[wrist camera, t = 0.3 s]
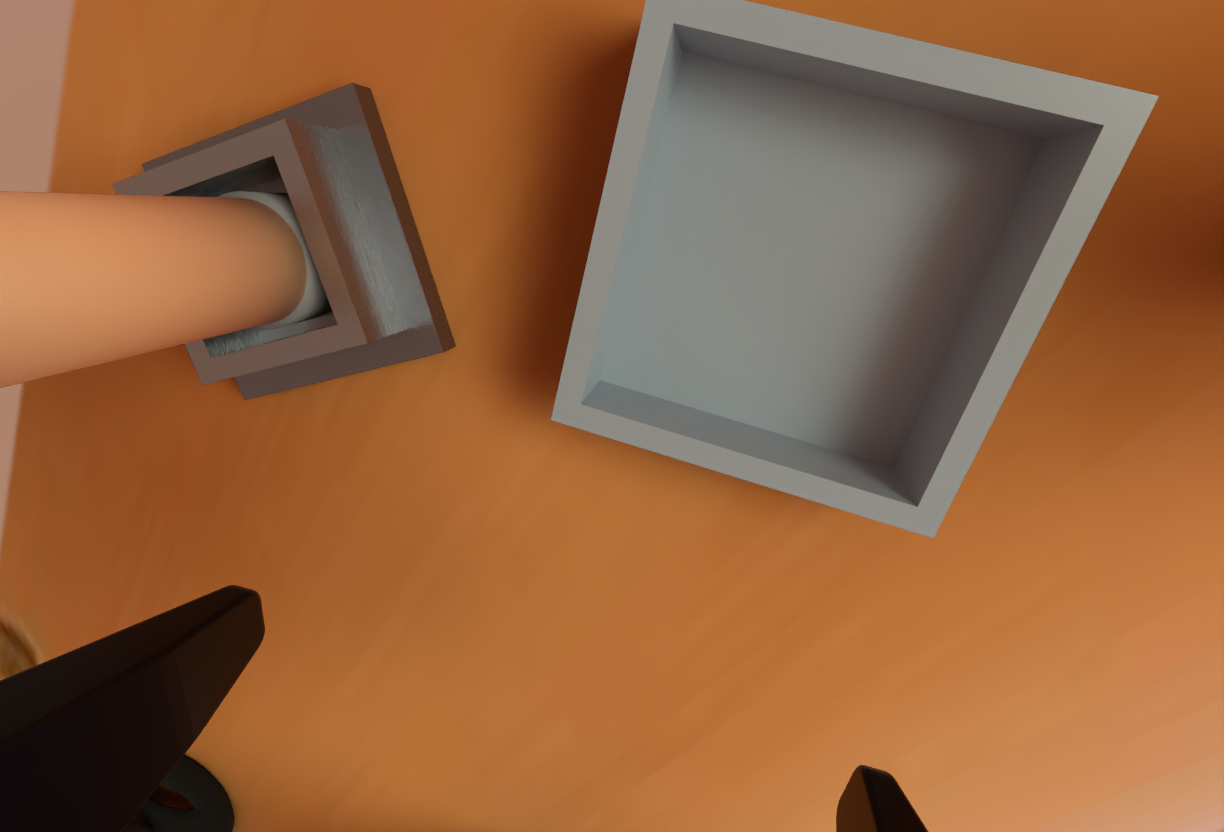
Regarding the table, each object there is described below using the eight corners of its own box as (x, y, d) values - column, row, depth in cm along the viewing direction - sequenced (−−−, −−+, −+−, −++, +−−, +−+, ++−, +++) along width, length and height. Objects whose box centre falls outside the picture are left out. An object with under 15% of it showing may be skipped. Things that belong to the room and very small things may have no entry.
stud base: (455, 346, 23) (409, 368, 20) (262, 392, 25) (191, 420, 22) (370, 88, 20) (301, 65, 17) (165, 166, 23) (70, 158, 20)
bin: (903, 488, 21) (933, 538, 18) (577, 389, 22) (550, 420, 19) (1078, 117, 17) (1159, 95, 14) (666, 20, 18) (651, -22, 15)
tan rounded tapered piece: (366, 304, 22) (-178, 440, 9) (267, 331, 23) (-345, 487, 10) (320, 177, 21) (-383, 119, 8) (219, 212, 22) (-546, 213, 9)
